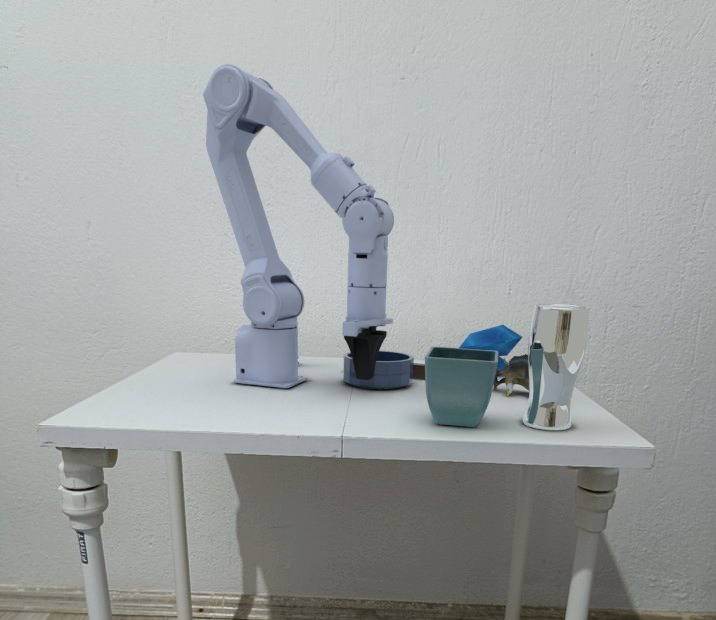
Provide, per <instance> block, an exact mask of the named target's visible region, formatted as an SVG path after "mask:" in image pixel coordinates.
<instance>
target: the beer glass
mask: <svg viewBox="0 0 716 620" xmlns="http://www.w3.org/2000/svg"><path fill="white" fill-rule="evenodd" d="M589 316H590V307H588V306H584V305H575V304H563V303H562V304H561V303H538V304H535V305H534V308H533V312H532V317H531V322H530V323H531V324H530V328H529V336H528V344H527V345H528V346H527V355H528V369H529V391H528V392H529V393H528V399H527V400H528V401H527V404H526V408H525V411H524V414H523V418H522V423H523V424H524V425H525V426H527V427H529V428H532V429H538V430H542V431H543V430H544V431H565V430H569V429H570V428H571V426H572V413H571V408H572V407H571V406H572V398H573V392H574V389H575V386H576V383H577V380H578V377H579V374H580V371H581V368H582V365H583V361H584V357H585V353H586V348H587V342H588V333H589V319H590V317H589Z"/></svg>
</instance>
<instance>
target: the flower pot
mask: <svg viewBox="0 0 716 620" xmlns="http://www.w3.org/2000/svg"><path fill="white" fill-rule="evenodd" d="M498 353H499V352H498V351H492V350H477V349H462V348H459V347H448V346H447V347H446V346H431V347H430V348H429V350H428V352H427V353H426V354H425V356H424V364H425V380H424V381H425V395H426V402H427V405H428V408H429V412H430V414H431V416H432V418H433V420H434V422H435V423H436V424H437V425H440V426H443V425H444V426H445V425H446V426H457V427H467V428H475V427H477V426H478V424H479V423H480V422H481V420H482V418H483V417H484V415H485V414H486V411H487V409H488V406H489V404H490V401H491V398H492V393H493V390H494V389H493V387H494V385H493V384H494V379H495V374H496V369H497V365H498Z"/></svg>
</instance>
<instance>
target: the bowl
mask: <svg viewBox="0 0 716 620" xmlns="http://www.w3.org/2000/svg"><path fill="white" fill-rule="evenodd" d="M342 362H343V363H342V365H343V367H342V381H343V382H344V383H347V384H349V385H351V386H353V387H356V388H362V389H367V390H368V389H369V390H395V389H396V390H397V389H400V388H403V387H407V386H410V385H411V384H412V383H413V381H414V379H413V365H414V363H415V357H414V356H413V355H412V354H408V353H405V352H400V351H399V352H398V351H393V350H392V351H390V350H379V353H378V356H377V360H376V364H375V368H374V372H373V375H372V378H371V379H370V380H363V379H357V378H356V375H355V370H354V365H353V360H352V355H351V352H350V351H348V352H346V353H343V361H342Z"/></svg>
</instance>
